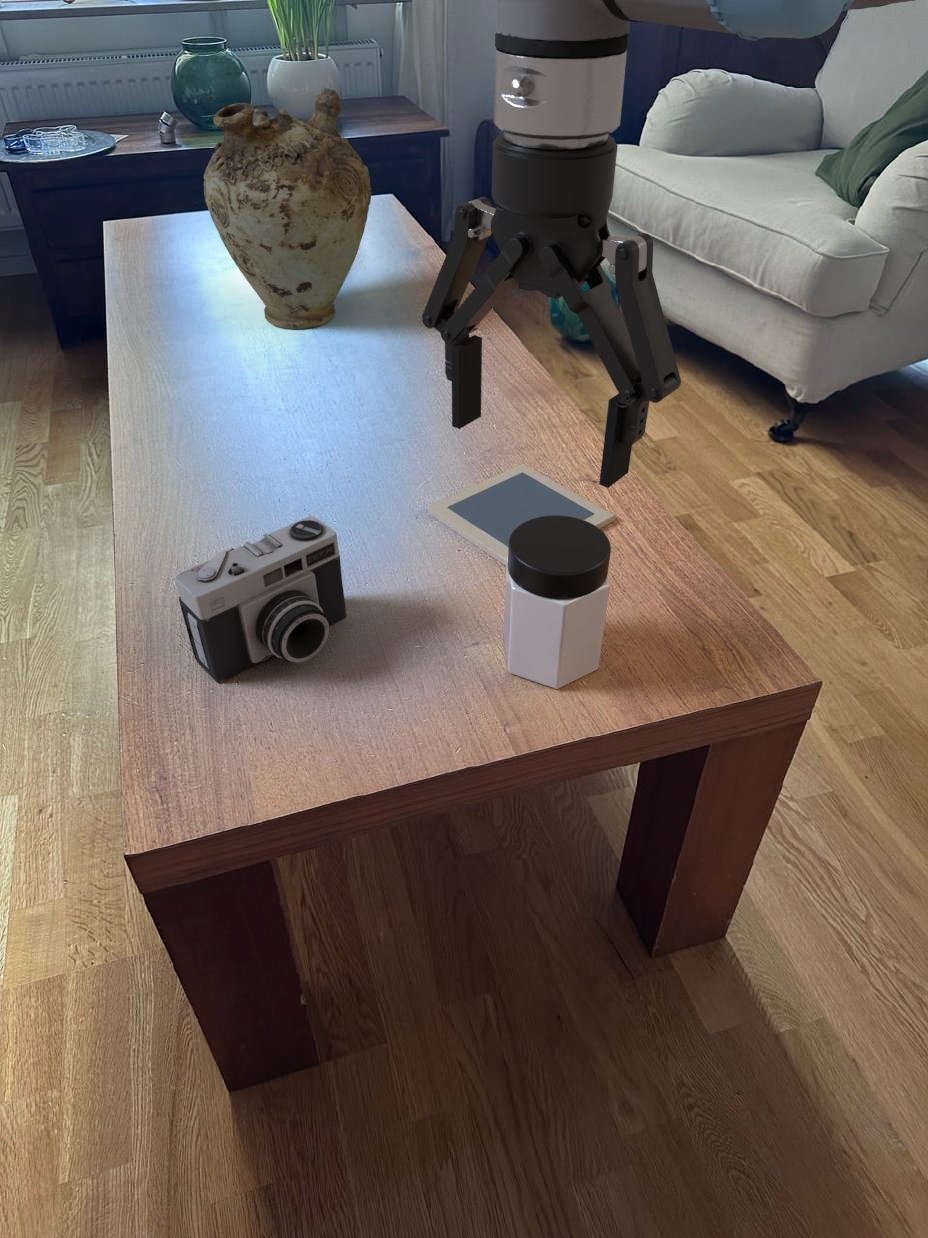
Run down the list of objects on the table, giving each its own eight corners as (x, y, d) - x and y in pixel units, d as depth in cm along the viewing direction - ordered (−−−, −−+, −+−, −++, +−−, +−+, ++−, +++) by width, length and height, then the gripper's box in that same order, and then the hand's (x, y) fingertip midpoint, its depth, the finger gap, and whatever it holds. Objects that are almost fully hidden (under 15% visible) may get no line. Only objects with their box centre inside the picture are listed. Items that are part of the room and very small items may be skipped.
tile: (613, 521, 93) (614, 514, 93) (516, 573, 86) (517, 566, 86) (522, 469, 101) (523, 462, 101) (427, 513, 94) (427, 505, 94)
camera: (227, 710, 72) (202, 613, 66) (188, 651, 78) (162, 557, 72) (375, 647, 78) (365, 553, 72) (328, 597, 84) (315, 506, 78)
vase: (403, 331, 129) (367, 96, 109) (243, 361, 126) (178, 127, 107) (378, 280, 146) (344, 70, 127) (238, 306, 144) (181, 96, 124)
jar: (613, 641, 79) (630, 530, 71) (581, 700, 73) (595, 586, 65) (522, 612, 82) (528, 503, 74) (484, 667, 76) (486, 554, 68)
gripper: (361, 115, 57) (381, 417, 70) (716, 181, 44) (657, 530, 58) (438, 97, 61) (442, 384, 75) (779, 153, 49) (710, 483, 63)
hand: (536, 449), depth 66 cm, fingers open, 13 cm apart
